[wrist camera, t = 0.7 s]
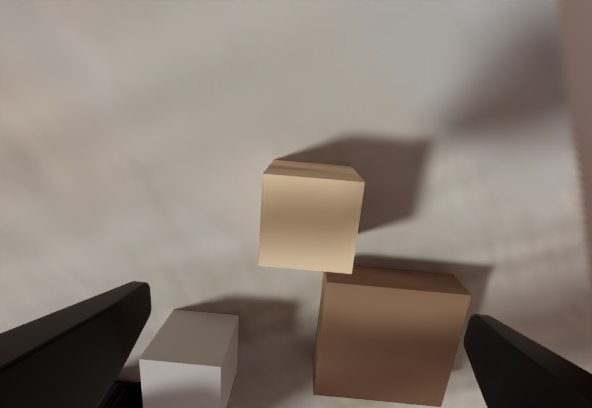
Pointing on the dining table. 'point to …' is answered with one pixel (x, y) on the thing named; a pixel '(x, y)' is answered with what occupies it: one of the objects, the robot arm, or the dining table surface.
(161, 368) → the grey cube
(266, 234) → the maple cube
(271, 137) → the dining table surface
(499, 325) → the robot arm
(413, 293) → the walnut block
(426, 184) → the dining table surface
